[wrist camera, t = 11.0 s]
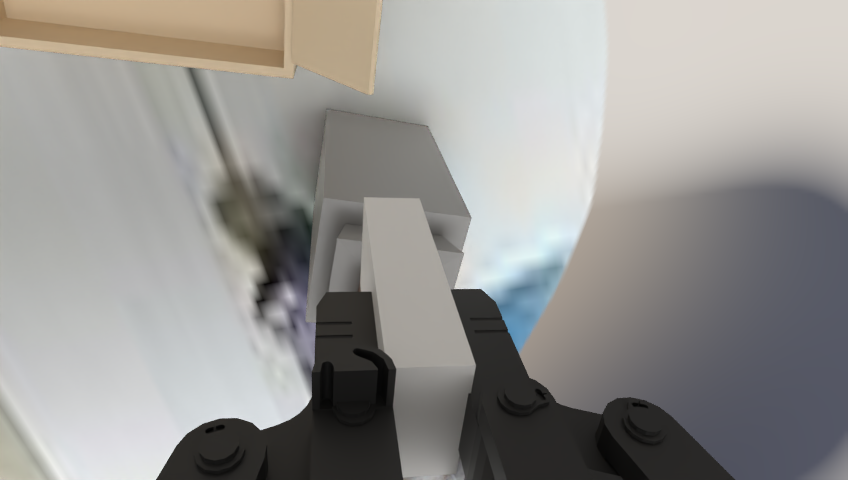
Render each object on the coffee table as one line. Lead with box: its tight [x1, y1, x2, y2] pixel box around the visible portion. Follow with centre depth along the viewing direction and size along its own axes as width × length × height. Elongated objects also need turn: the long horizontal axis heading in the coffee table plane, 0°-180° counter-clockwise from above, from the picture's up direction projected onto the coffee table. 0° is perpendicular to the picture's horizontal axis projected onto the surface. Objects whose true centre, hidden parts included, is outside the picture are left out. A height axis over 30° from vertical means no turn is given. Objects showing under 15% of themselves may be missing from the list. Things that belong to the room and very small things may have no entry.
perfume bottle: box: [306, 109, 471, 323], centre depth 30 cm, size 7×7×18 cm
